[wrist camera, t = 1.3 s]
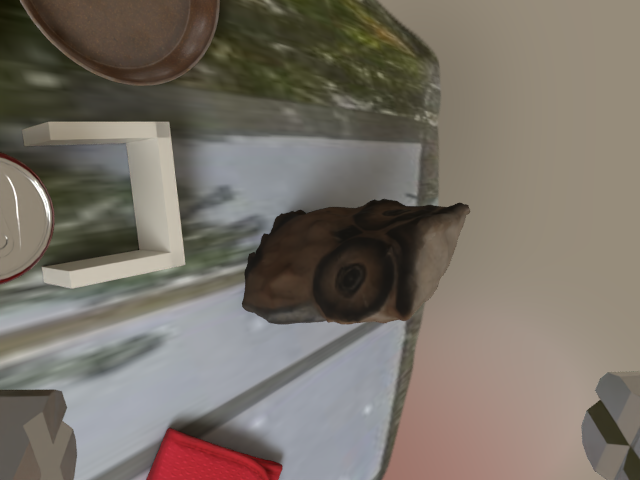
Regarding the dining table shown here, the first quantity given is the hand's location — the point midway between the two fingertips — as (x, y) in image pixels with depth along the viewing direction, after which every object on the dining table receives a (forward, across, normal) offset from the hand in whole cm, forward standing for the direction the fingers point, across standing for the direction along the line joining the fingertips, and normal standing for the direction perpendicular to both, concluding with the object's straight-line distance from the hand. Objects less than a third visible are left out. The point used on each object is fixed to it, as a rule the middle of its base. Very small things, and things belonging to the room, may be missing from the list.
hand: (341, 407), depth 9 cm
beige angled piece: (+35, +16, +15) cm, 41 cm away
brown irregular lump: (+44, -1, +28) cm, 52 cm away
